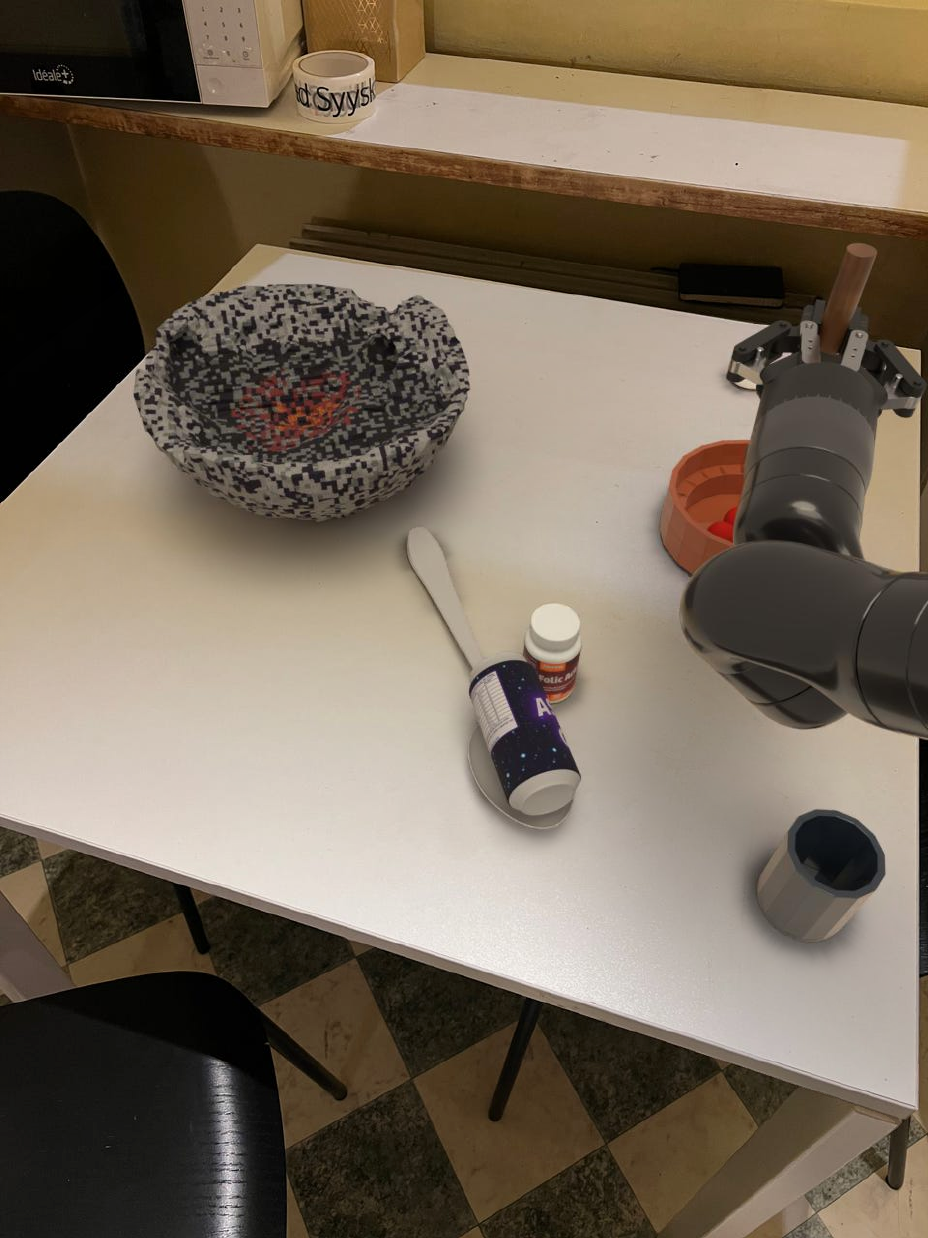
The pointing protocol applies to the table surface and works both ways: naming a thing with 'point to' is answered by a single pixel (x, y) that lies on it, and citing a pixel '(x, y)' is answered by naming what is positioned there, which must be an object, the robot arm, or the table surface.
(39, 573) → the table surface
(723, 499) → the stew bowl
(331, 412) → the bowl
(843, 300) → the stick
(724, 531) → the tomato
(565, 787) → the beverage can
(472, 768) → the spoon
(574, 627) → the pill bottle
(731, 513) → the red ball
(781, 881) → the holder
